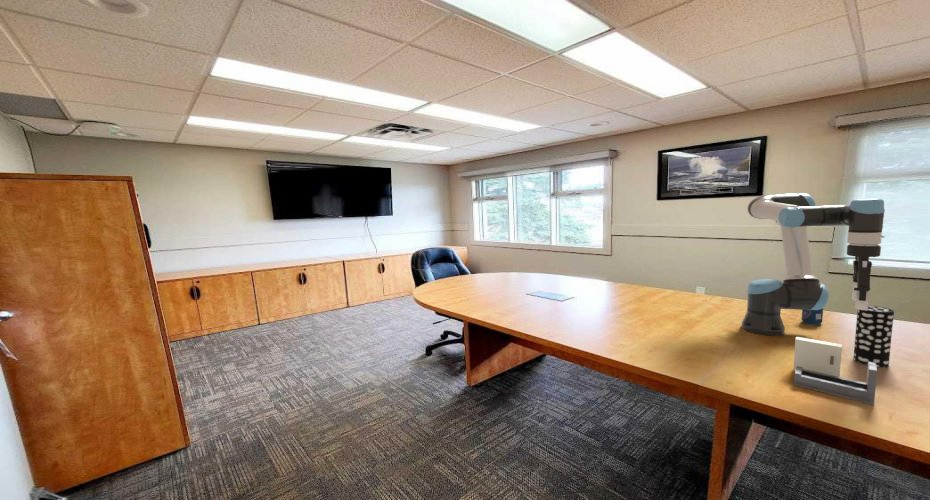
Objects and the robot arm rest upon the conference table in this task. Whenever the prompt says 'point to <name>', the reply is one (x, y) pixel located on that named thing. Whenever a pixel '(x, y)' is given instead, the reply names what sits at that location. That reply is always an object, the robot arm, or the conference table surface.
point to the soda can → (812, 316)
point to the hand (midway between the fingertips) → (859, 305)
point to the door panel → (818, 356)
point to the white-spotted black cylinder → (873, 336)
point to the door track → (839, 384)
